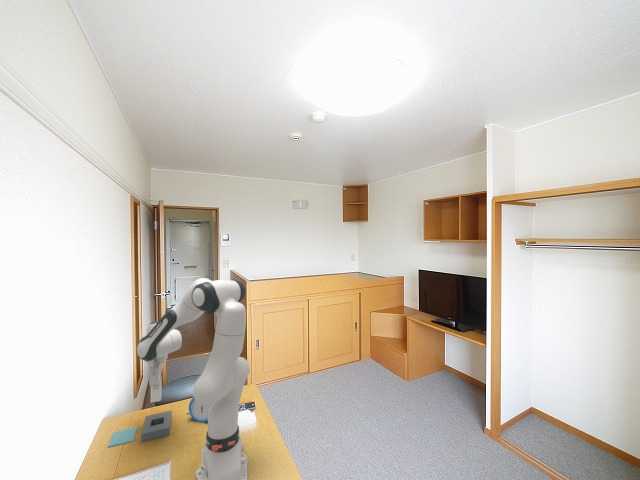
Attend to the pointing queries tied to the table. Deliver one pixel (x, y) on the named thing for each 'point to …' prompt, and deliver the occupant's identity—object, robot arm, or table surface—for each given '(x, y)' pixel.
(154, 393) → the plug
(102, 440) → the table surface
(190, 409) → the alarm clock
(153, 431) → the socket header
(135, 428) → the mat
